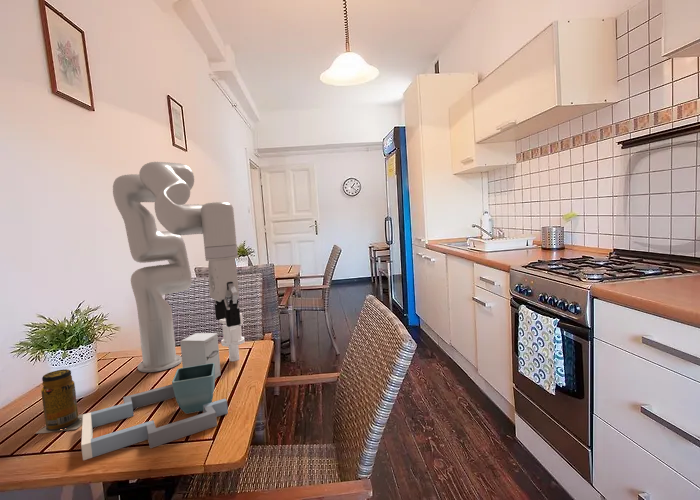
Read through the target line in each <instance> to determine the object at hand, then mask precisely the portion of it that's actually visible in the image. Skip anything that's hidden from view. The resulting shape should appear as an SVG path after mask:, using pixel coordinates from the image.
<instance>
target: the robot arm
mask: <svg viewBox="0 0 700 500" xmlns="http://www.w3.org/2000/svg"><path fill="white" fill-rule="evenodd" d="M194 184H195V175H194V172H193V170H192V168H190V167H189V166H188V165H186V164H184V163H176V162H165V161H150V162H147V163H145V164H143V165H142V166H141V167H140V170H139V173H136V174H132V173H131V174H129V173H128V174H122V175H120V176H117V177H116V178H115V180H114V181H113V185H112V196H113V200H114V204H115V206H116V208H117V210H118V212H119V213H120V215H121V218H122V219H123V221H124V222H123V223H124V227H125V232H126V238H127V242H128V247H129V251H130V255H131V257H132V259H133V260H134V261H135V262H136V263H140V264H141V263H143V264H145V263H154V262H163V261H164V262H165V261H167V263H168V264H167V263H166V264H158V265H157V264H156V265H152V266H151V265H149V266H144V267H141V268H139V269H136V270H135V271H134V272H133V273H132V274H131V276H130V284H131V289H132V292H133V295H134V299H135V304H136V309H137V310H136V311H137V319H138V326H139V327H138V328H139V329H138V330H139V337H140V347H141V357H142V361H141V362H140V363H138V364H137V370H138V371H139V372H141V373H156V372H161V371H166V370H169V369H171V368H174V367H177V366H178V365H180V364H182V355H179V354H177V351H176V342H175V331H174V330H175V329H174V320H173V310H172V307H171V305H170V304H169V303H168V301H166V300H165V298H164V297H163V296H166V295H169V294H175V293H181V292H184V291H187V290H188V289H189V288H190V287H191V285H192V272H191V271H192V270H191V266H190V262H189V257H188V252H187V248H186V244H185V243H186V242H185V241H184V238H183V237H182V236H189V235H190V236H191V235H202V237H203V247H204V256H205V258H204V259H205V261H206V262H208V270H207V271H208V286H209V291H208V292H209V297H210V298H211V299H212V300H214V301H213V302H214V311H215V319H216V320H217V321H219V320H220V319H225V318H226V324H225V325H227V327H231V326H236V325H239V326H241V325H240V324H241V321H240V313H241V312H240V305H239V302H240V301H239V296H240V291H239V280H238V273H237V271H238V270H237V265H236V260H235V259H238V258H239V257H238V245H237V236H236V235H237V234H236V224H235V213H234V207H233V205H232V204H231V203H229V202H226V201H225V202H224V201H222V202H221V201H219V202H217V201H216V202H214V201H213V202H207V203H204V204H199V203H197V204H195V203H194V204H191V203H189V204H188V203H187V202H188V201H189V199H190V197H191V190H192V189H193V188H194ZM142 203H154V213H155V216H156V219H157V220H158V222H159V224H160V225H161V226H162V227H163V228H164V230H163V231H159V230H158V229H157V223H156V220H155V217H154V215H153V214H152V213H151V211H150V210H148V208H147V207H145V206H144V205H143V204H142ZM186 203H187V204H186Z"/></svg>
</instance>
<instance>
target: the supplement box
mask: <svg viewBox="0 0 700 500" xmlns="http://www.w3.org/2000/svg"><path fill="white" fill-rule="evenodd" d="M179 343H180V352H181V353H180V354H181V355H180V356H181V357H182V361H181V365H182V368H185V367H191V366H197V365H203V364H209V363H215V380H217V378H218V377H220V376H221V371H222V370H221V361H220V360H221V359H220V348H219V347H220V346H219V336H218V333H217V332H207V333H206V332H202V333H201V332H195V333H193V334H191V335H189V336H187V337H186V338H185V337H184V338H183V339H182V340H180V342H179Z"/></svg>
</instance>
